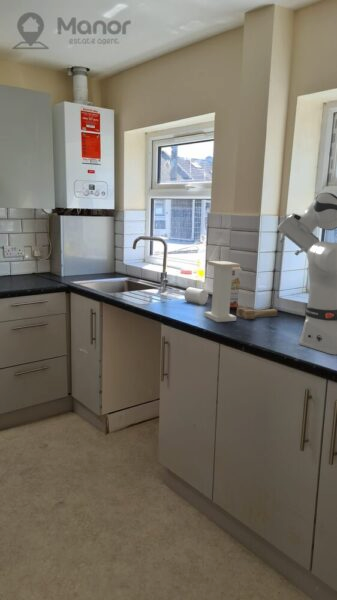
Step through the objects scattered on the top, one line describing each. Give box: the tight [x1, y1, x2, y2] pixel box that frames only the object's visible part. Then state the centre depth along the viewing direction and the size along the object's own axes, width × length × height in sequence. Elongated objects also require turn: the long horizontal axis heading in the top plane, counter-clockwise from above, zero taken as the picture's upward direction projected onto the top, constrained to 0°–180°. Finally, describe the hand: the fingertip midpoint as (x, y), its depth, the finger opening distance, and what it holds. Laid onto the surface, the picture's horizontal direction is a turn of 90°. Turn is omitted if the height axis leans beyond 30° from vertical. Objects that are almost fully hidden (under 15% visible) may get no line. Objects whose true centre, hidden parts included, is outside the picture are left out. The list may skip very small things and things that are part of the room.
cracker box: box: [230, 268, 242, 308], centre depth 236 cm, size 14×6×21 cm, turn 105°
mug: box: [184, 286, 209, 305], centre depth 244 cm, size 12×10×8 cm
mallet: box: [235, 306, 278, 320], centre depth 218 cm, size 8×20×4 cm, turn 114°
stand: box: [203, 260, 241, 323], centre depth 207 cm, size 12×10×26 cm
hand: (288, 247), depth 210 cm, fingers open, 8 cm apart
